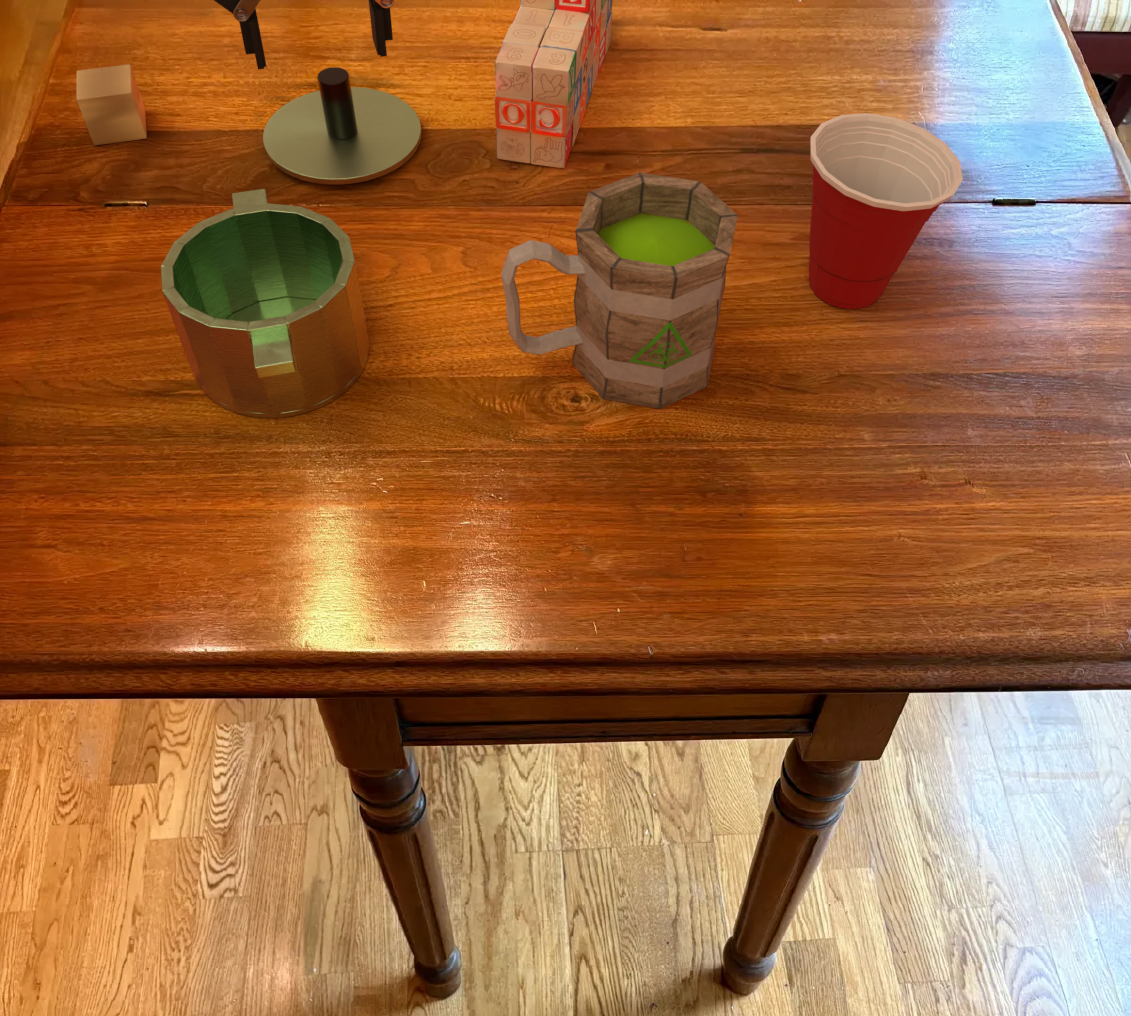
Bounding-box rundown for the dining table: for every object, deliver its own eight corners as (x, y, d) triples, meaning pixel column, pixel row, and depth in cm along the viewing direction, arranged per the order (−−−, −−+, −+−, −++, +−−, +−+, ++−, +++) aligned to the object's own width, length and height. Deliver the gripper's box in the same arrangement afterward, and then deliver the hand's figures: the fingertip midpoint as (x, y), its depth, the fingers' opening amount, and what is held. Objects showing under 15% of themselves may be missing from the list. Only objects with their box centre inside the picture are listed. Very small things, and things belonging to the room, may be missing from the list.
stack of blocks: (566, 171, 93) (569, 35, 83) (495, 161, 93) (490, 25, 83) (611, 41, 105) (618, -91, 95) (548, 33, 106) (549, -99, 96)
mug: (697, 298, 83) (717, 165, 74) (734, 400, 77) (761, 269, 67) (495, 319, 81) (488, 186, 72) (515, 426, 75) (511, 295, 65)
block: (93, 146, 94) (75, 99, 90) (93, 116, 96) (76, 70, 93) (147, 139, 94) (131, 92, 91) (145, 110, 97) (130, 63, 93)
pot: (202, 462, 73) (167, 374, 66) (187, 287, 83) (155, 195, 76) (388, 428, 75) (372, 339, 68) (350, 261, 85) (334, 169, 78)
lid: (274, 201, 89) (257, 134, 84) (258, 109, 97) (242, 42, 92) (435, 177, 92) (429, 110, 87) (407, 89, 100) (400, 23, 94)
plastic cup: (934, 331, 82) (987, 199, 72) (793, 336, 81) (827, 204, 71) (898, 238, 88) (942, 106, 78) (767, 242, 87) (795, 109, 78)
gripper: (402, -209, 78) (417, 20, 91) (153, -195, 75) (208, 40, 88) (421, -166, 74) (434, 68, 87) (158, -149, 70) (215, 91, 84)
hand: (320, 54), depth 88 cm, fingers open, 9 cm apart
